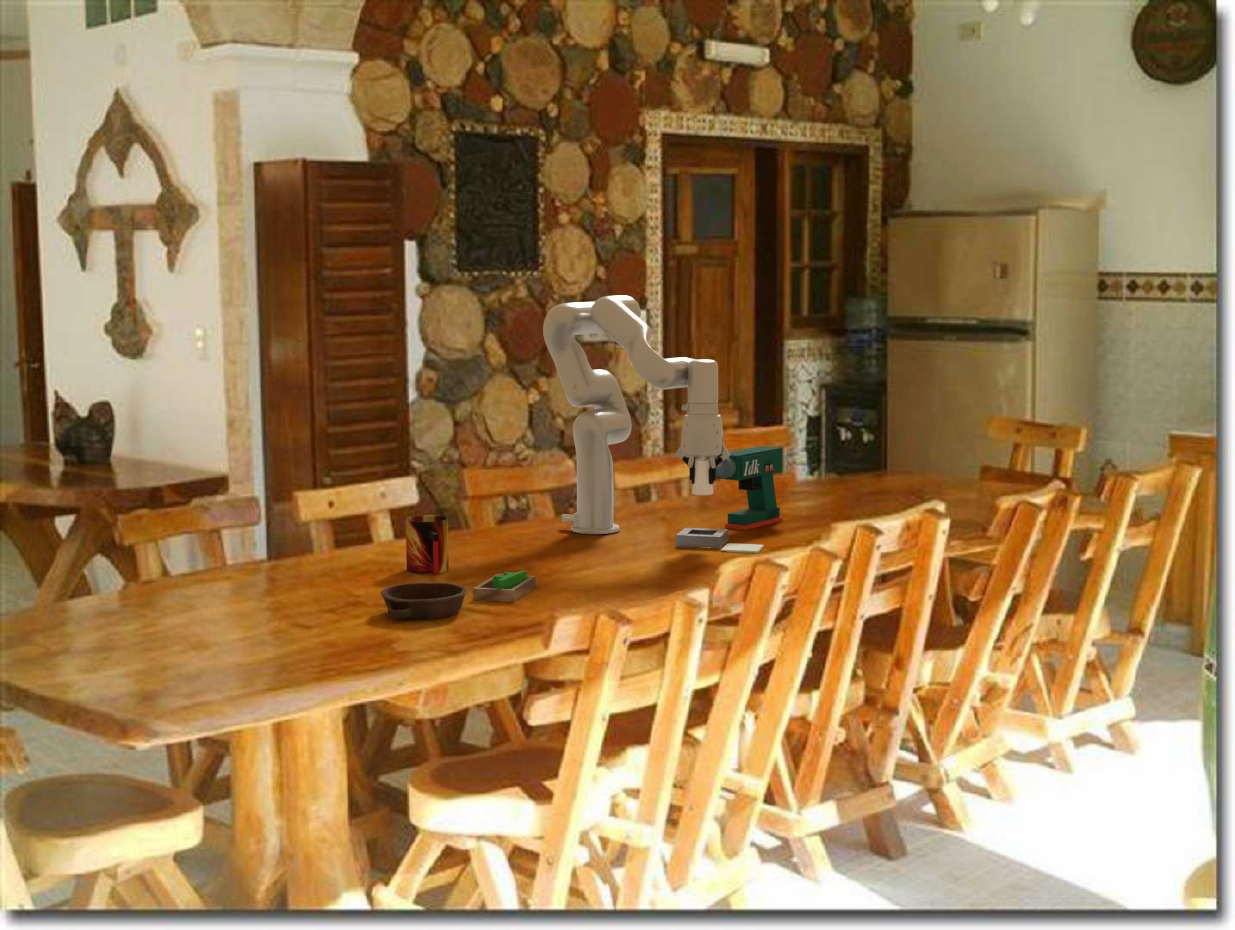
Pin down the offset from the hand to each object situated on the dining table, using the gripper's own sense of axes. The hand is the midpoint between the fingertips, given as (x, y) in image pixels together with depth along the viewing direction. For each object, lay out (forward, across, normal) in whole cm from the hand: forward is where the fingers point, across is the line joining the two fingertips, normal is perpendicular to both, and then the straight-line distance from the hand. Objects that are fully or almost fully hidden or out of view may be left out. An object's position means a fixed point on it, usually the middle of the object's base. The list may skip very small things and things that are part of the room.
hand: (702, 482), depth 416 cm
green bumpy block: (+16, -28, -69) cm, 77 cm away
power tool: (+16, +5, +27) cm, 31 cm away
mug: (+16, -53, -49) cm, 74 cm away
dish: (+16, -39, -90) cm, 100 cm away
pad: (+16, +11, -4) cm, 19 cm away
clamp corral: (+15, -29, -68) cm, 76 cm away
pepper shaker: (+3, 0, 0) cm, 3 cm away
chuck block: (+15, 0, 0) cm, 15 cm away
